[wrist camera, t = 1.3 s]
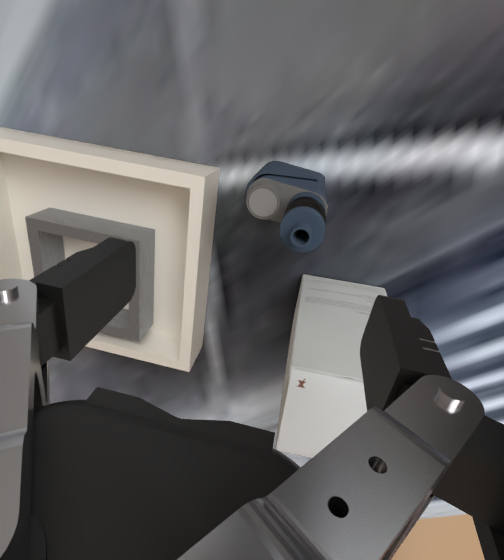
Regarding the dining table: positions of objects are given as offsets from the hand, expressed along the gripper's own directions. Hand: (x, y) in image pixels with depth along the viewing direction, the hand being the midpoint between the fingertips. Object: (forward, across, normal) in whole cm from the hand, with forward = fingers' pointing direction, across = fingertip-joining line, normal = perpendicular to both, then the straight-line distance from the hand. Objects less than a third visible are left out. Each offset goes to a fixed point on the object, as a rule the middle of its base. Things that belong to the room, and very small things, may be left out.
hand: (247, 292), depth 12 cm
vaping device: (+19, 0, 0) cm, 19 cm away
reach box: (+19, +16, +9) cm, 26 cm away
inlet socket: (+19, +16, +11) cm, 27 cm away
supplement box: (+19, -6, +11) cm, 23 cm away
